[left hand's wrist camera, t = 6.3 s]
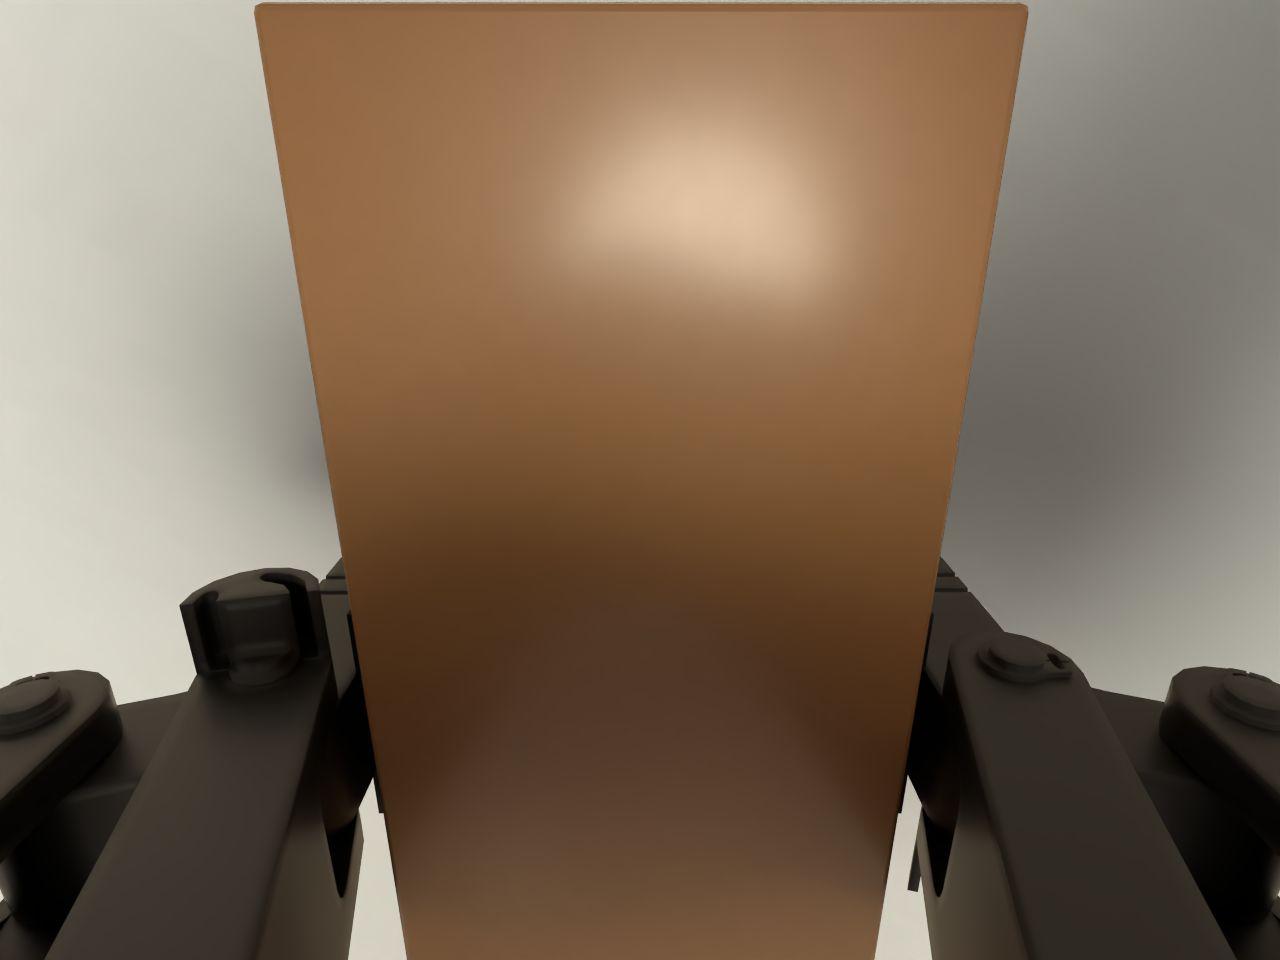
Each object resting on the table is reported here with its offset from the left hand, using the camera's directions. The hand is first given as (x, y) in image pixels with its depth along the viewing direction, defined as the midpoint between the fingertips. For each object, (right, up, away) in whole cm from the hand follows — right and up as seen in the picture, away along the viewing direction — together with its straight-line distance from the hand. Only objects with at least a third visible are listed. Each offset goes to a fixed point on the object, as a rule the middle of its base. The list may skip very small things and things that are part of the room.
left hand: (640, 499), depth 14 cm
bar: (0, -22, +9) cm, 23 cm away
